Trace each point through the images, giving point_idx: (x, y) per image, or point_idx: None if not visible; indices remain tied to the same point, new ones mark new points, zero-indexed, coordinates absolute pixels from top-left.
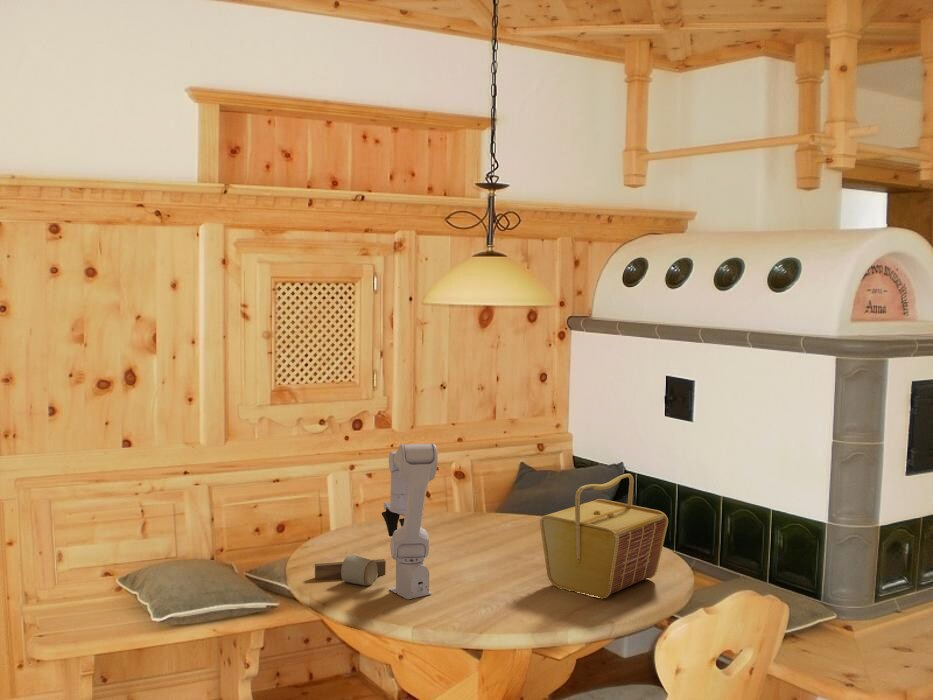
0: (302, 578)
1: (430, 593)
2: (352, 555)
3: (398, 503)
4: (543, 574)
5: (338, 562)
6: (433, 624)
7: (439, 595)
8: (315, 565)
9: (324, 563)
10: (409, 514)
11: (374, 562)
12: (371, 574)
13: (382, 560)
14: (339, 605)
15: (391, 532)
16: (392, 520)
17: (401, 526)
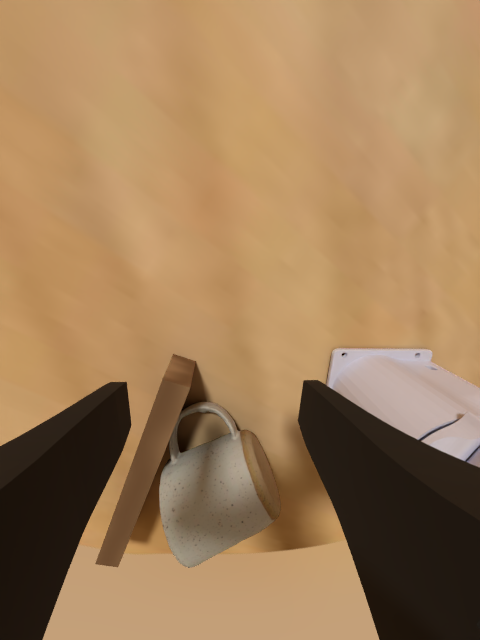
0: None
1: (430, 355)
2: (189, 553)
3: None
4: None
5: (117, 512)
6: None
7: (446, 334)
8: (109, 563)
9: (105, 544)
10: None
11: (264, 489)
12: (263, 466)
13: (176, 393)
14: (321, 535)
15: (118, 438)
16: (42, 553)
17: (369, 589)
